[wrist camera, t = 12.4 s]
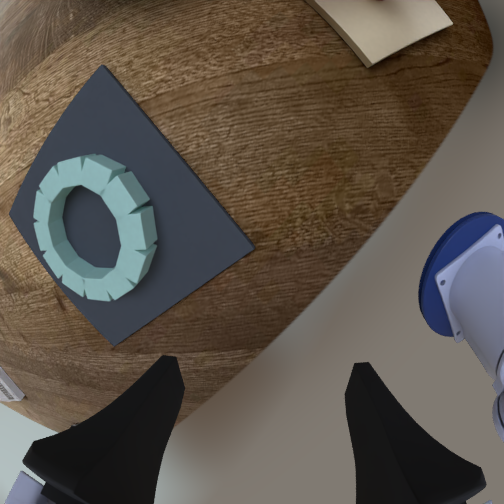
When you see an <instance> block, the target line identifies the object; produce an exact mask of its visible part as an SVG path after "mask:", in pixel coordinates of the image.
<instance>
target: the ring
mask: <svg viewBox="0 0 504 504" xmlns="http://www.w3.org/2000/svg"><path fill="white" fill-rule="evenodd" d="M125 169H126V166H124V165H122V164H120V163H118V162H116V161H114V160H112V159H110V158H108V157H106V156H104V155H96V154H90V155H85V156H80V157H76V158H72V159H68V160H65V161H61V162H58V163H57V165H55V166H53V167H52V168H51V169H50V171H49V172H48V174H47V175H46V176H45V178H44V179H43V181H42V182H41V183H40V185H39V187H40V190H38V191H37V193H36V200H35V207H34V215H33V218H35V219H36V220H37V222H35V223H34V227H35V232H36V236H37V240H38V244H39V247H40V251H46V252H45V254H44V255H43V257H44V259H45V260H46V262H47V263H48V265H49V266H50V268H51V269H52V271H53V272H54V274H55V275H56V276H57V278H58V279H59V278H60V277H61V276H62V275H63V276H62V283H63V284H64V285H66V286H67V287H69V288H70V289H71V290H73V291H74V292H76V293H77V294H79V295H80V296H82V297H84V296H85V295H86V296H87V299H92V300H101V301H111V300H112V299H114V300H116V299H118V298H119V297H121V296H123V295H124V294H126V293H127V292H129V291H130V290H132V289H133V288H134V287H135V286H136V285H137V284H138V283H139V282H140V280H141V279H142V278H143V277H144V275H145V274H146V273H147V272H148V270H149V267H150V264H151V261H152V258H153V256H154V253H155V250H156V248H157V245H155V244H153V243H154V242H155V241H156V240H157V233H156V226H155V219H154V212H153V206H144V207H141V206H143V205H144V204H145V203H146V202H148V201H149V200H150V198H149V197H148V195H147V194H146V192H145V191H144V189H143V188H142V186H141V185H140V183H139V182H138V180H137V179H136V177H135V176H134V174H133V173H132V171H130V172H126V173H124V172H125ZM78 185H82V186H84V187H86V188H88V189H90V190H91V191H93V192H95V193H97V194H99V195H100V196H101V197H102V199H103V200H104V202H105V203H106V205H107V206H108V208H109V209H110V211H111V212H112V214H113V215H114V217H115V218H116V221H117V227H118V232H119V237H120V242H121V249H120V252H119V256H118V260H117V263H116V266H115V267H114V268H98V267H94V266H93V265H91V264H90V263H88V262H86V261H85V260H83V259H82V258H80V257H79V256H78V255H77V253H76V252H75V250H74V249H73V247H72V246H71V244H70V243H69V241H68V240H67V236H66V232H65V228H64V223H63V218H62V216H63V210H64V205H65V200H66V196H67V195H68V194H69V193H70V192H71V191H72V189H73V188H74V187H75V186H78Z"/></svg>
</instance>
